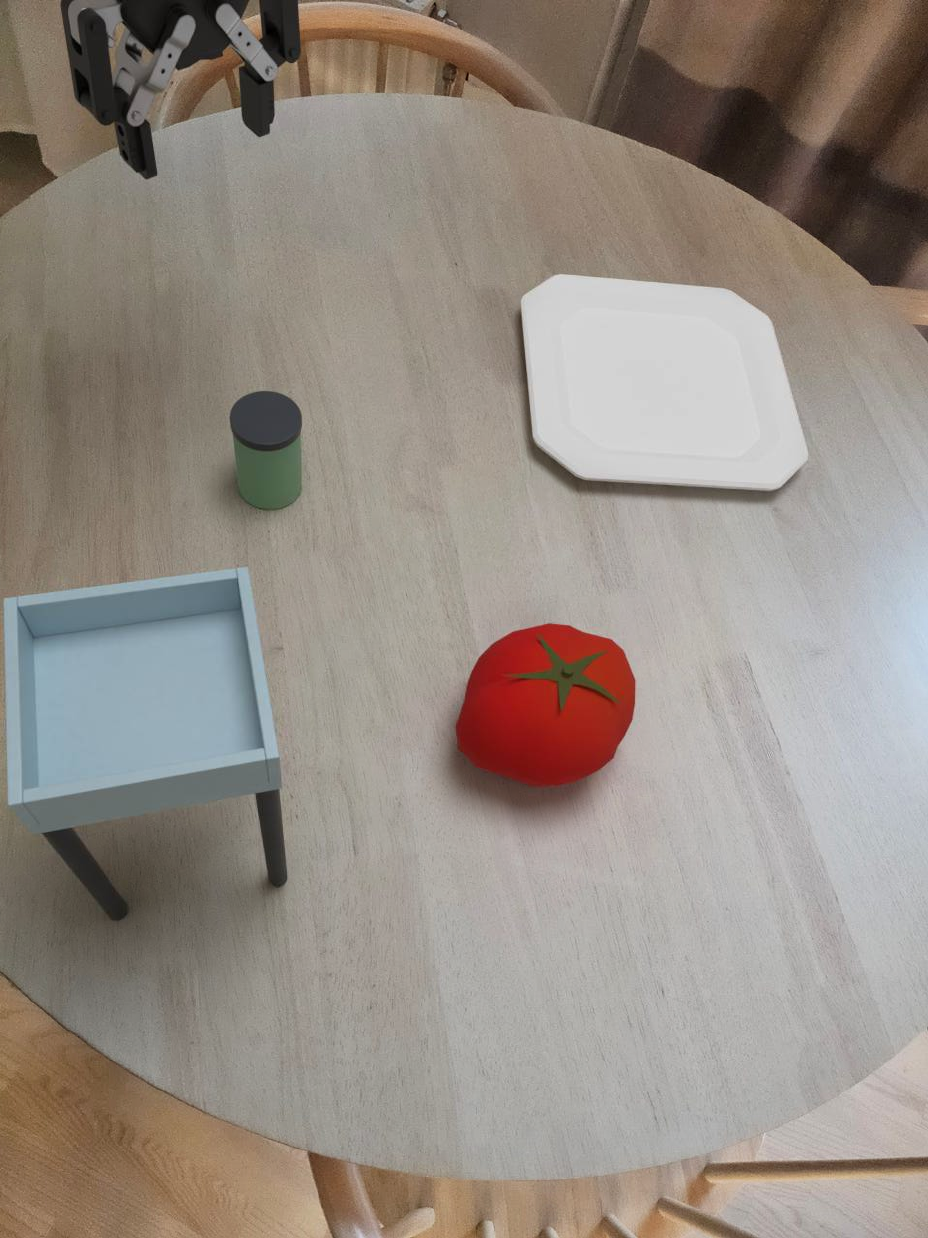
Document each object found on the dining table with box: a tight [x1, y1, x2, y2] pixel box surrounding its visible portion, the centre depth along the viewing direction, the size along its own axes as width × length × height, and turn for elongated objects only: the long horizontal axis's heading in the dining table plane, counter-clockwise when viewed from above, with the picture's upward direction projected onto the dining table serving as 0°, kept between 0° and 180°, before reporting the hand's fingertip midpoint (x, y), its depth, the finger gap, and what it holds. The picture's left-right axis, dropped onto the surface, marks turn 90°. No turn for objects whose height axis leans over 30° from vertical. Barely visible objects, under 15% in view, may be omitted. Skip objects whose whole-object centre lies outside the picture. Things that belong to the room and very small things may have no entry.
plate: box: [519, 273, 810, 492], centre depth 86 cm, size 25×25×2 cm
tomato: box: [455, 622, 637, 788], centre depth 64 cm, size 11×13×10 cm
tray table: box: [2, 566, 289, 922], centre depth 52 cm, size 11×10×22 cm
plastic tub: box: [229, 390, 303, 511], centre depth 73 cm, size 5×5×8 cm
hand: (201, 149), depth 61 cm, fingers open, 8 cm apart
